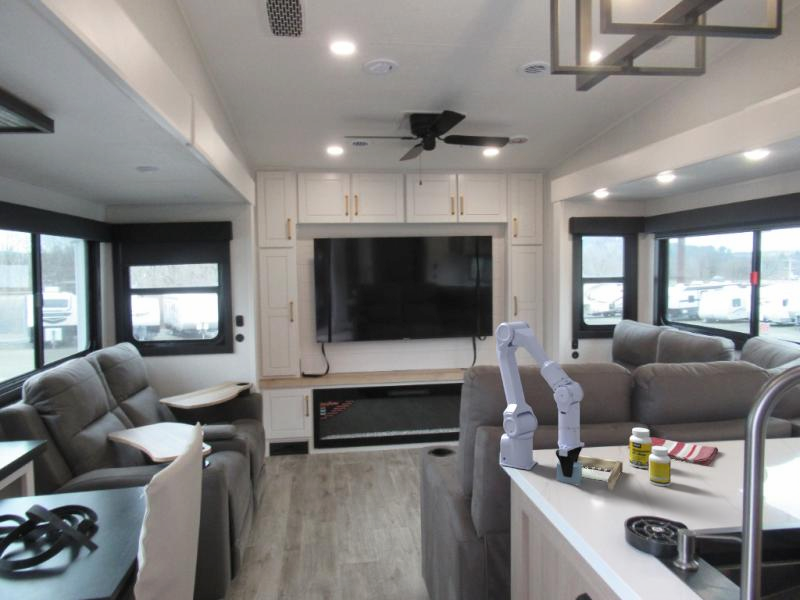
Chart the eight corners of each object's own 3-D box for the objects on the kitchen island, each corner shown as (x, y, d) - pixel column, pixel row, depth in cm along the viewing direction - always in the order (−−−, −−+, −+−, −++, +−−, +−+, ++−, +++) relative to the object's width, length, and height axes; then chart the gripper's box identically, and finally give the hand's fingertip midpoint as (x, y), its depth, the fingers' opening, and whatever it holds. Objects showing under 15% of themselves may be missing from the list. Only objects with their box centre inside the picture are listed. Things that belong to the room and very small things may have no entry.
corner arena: (556, 480, 143) (556, 470, 143) (570, 463, 157) (570, 453, 157) (613, 491, 136) (613, 480, 136) (622, 471, 149) (622, 461, 149)
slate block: (556, 481, 143) (556, 463, 143) (560, 476, 147) (560, 459, 147) (578, 485, 140) (578, 467, 140) (582, 480, 144) (581, 463, 144)
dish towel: (708, 468, 152) (708, 459, 152) (626, 452, 168) (626, 444, 168) (718, 453, 165) (718, 445, 165) (641, 440, 180) (641, 432, 180)
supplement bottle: (673, 487, 138) (673, 451, 137) (651, 486, 139) (651, 450, 138) (667, 479, 143) (667, 445, 143) (646, 478, 144) (646, 444, 144)
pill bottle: (630, 468, 152) (629, 431, 152) (629, 461, 158) (628, 425, 158) (653, 470, 150) (652, 433, 150) (651, 463, 156) (651, 427, 155)
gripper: (578, 434, 135) (578, 485, 135) (589, 421, 147) (589, 468, 148) (551, 431, 139) (551, 480, 139) (564, 418, 151) (564, 464, 151)
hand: (569, 473), depth 144 cm, fingers open, 4 cm apart
